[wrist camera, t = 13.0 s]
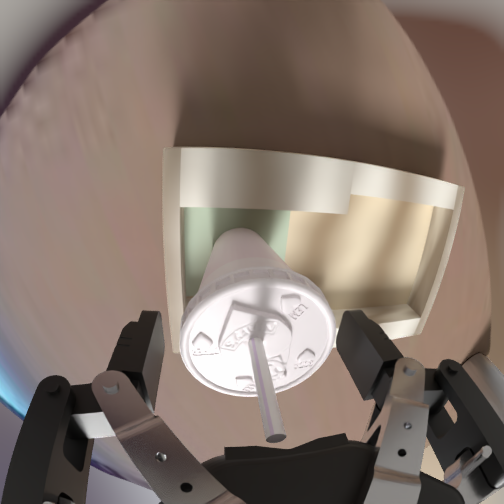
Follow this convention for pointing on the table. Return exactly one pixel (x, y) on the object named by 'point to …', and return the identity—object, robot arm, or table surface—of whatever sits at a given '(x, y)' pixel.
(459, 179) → the table surface
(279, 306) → the smoothie
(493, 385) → the robot arm
